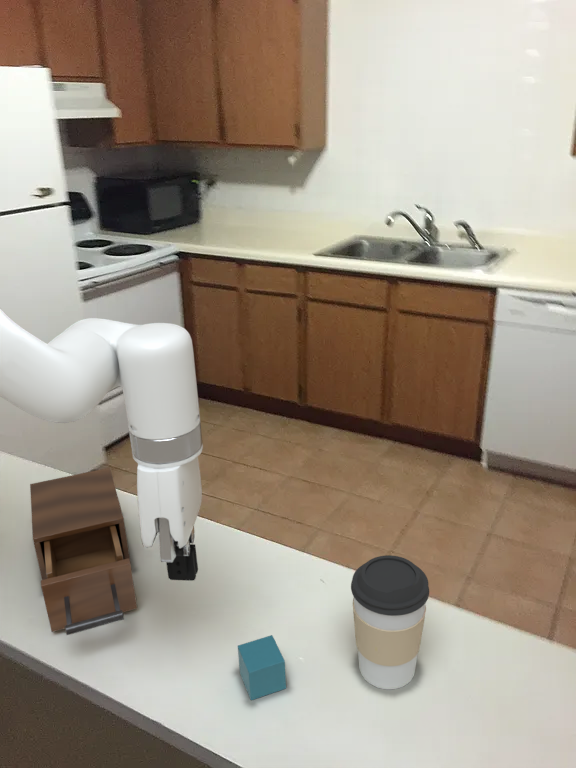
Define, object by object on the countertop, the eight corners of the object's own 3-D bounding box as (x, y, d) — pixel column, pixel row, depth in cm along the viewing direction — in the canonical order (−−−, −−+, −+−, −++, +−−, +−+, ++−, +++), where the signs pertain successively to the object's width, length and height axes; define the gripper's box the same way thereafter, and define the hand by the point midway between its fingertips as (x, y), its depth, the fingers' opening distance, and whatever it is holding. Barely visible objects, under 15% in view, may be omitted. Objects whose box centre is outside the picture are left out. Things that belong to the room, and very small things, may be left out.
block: (250, 700, 79) (248, 672, 77) (239, 672, 83) (237, 645, 81) (286, 688, 81) (285, 661, 79) (273, 661, 84) (272, 634, 83)
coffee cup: (338, 651, 86) (338, 557, 79) (401, 631, 88) (405, 538, 82) (371, 707, 78) (373, 606, 72) (438, 683, 81) (446, 584, 75)
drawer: (145, 641, 87) (138, 594, 84) (54, 668, 83) (43, 620, 80) (122, 548, 105) (115, 506, 102) (46, 566, 102) (37, 524, 98)
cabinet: (131, 570, 101) (123, 517, 98) (45, 593, 98) (32, 539, 94) (117, 515, 115) (109, 467, 111) (40, 533, 111) (30, 483, 107)
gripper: (151, 408, 79) (168, 536, 86) (109, 475, 65) (133, 620, 72) (214, 408, 78) (226, 537, 85) (184, 476, 64) (201, 623, 72)
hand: (183, 575), depth 79 cm, fingers closed
